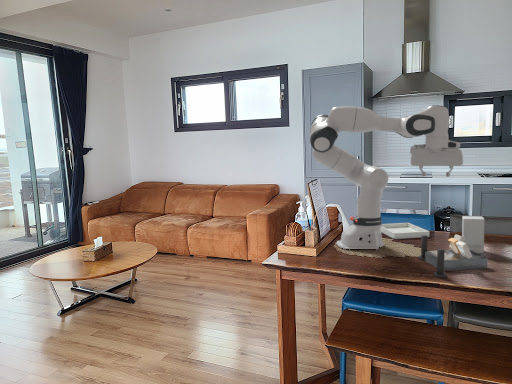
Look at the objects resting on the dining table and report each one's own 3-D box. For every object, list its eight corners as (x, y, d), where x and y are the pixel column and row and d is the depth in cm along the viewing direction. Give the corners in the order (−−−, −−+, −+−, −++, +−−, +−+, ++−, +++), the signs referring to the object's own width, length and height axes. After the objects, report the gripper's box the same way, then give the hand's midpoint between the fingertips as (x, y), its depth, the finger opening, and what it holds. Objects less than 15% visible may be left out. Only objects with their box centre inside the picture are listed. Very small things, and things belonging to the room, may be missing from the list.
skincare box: (482, 250, 166) (483, 216, 164) (484, 254, 160) (485, 219, 158) (460, 248, 169) (462, 215, 167) (462, 252, 163) (463, 218, 161)
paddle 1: (454, 249, 151) (461, 236, 150) (448, 246, 155) (455, 234, 154) (458, 251, 151) (465, 238, 150) (452, 248, 155) (459, 235, 154)
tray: (394, 239, 189) (394, 233, 189) (376, 229, 211) (376, 224, 211) (429, 237, 191) (429, 231, 190) (408, 227, 213) (408, 222, 212)
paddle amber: (460, 255, 146) (453, 242, 145) (454, 252, 150) (447, 239, 149) (464, 252, 146) (457, 240, 145) (457, 249, 150) (451, 237, 149)
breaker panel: (443, 271, 141) (443, 259, 140) (424, 260, 154) (425, 250, 153) (487, 268, 143) (487, 256, 142) (465, 258, 155) (465, 247, 155)
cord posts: (435, 277, 134) (436, 251, 133) (417, 257, 159) (417, 234, 158) (448, 278, 134) (449, 251, 132) (427, 257, 158) (428, 234, 157)
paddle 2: (468, 258, 141) (462, 245, 140) (461, 255, 145) (455, 243, 144) (472, 256, 141) (466, 243, 140) (465, 253, 145) (459, 240, 144)
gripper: (409, 144, 159) (408, 176, 161) (463, 143, 149) (462, 177, 151) (411, 144, 164) (410, 175, 166) (463, 143, 154) (462, 176, 156)
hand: (435, 176), depth 158 cm, fingers open, 8 cm apart
